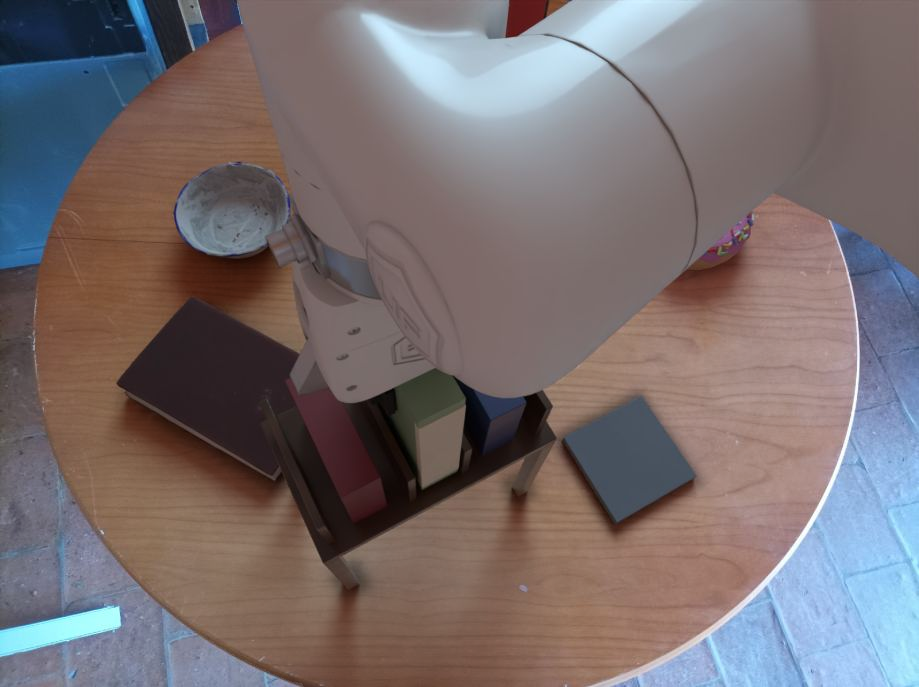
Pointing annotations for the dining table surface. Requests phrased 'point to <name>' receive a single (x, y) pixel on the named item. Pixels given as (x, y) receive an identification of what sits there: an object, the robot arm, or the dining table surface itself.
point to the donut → (725, 245)
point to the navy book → (490, 418)
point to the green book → (429, 425)
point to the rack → (391, 475)
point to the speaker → (524, 15)
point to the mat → (628, 459)
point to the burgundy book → (341, 452)
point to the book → (215, 381)
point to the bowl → (231, 210)
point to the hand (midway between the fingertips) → (408, 381)
